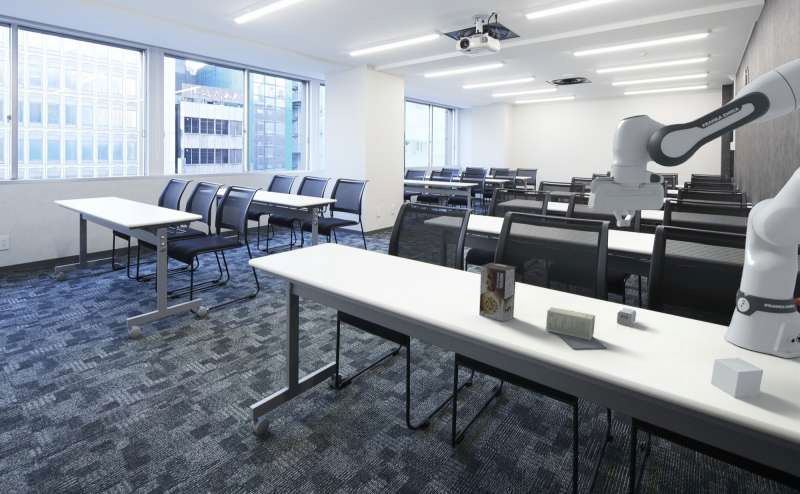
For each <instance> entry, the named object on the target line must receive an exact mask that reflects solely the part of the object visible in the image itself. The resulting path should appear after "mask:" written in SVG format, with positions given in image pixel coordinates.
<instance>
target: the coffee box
mask: <svg viewBox="0 0 800 494" xmlns="http://www.w3.org/2000/svg"><path fill="white" fill-rule="evenodd" d="M516 274H517V266H512V265H508V264H501V263H496V262H490V263H486V264H483V265H481V266H480V284H479V285H480V288H479V289H480V290H479V311H478V313H479V314H478V315H480V316H483V317H486V318H490V319H493V320H498V321H501V322H505V321H508V320H510V319H512V318H514V313H515V312H514V311H515V297H516V296H515V294H516V278H517V276H516Z"/></svg>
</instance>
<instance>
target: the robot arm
mask: <svg viewBox="0 0 800 494" xmlns="http://www.w3.org/2000/svg"><path fill="white" fill-rule="evenodd" d="M798 109H800V57H799V58H796V59H794V60H791V61H788V62H785V63H784V64H782V65H779V66H777V67H775V68H774V69H773V68H772V70H768V72H765V73H764V74H762V75H760V76H758V77H756V78H755V79H753V80H751V82H749V83H747V84H746V85H745V86H743V87H742V88H741V89H740V90H739V91H738V93H737V94H736V95H735V96H734V97H733V98H732V99H731V100H730V101H729V102H727V103H725V104H724V105H722V106H719V108H716V109H714V110H712V111H710V112H708V113H706V114H704V115H702V116H700V117H699V118H696V119H693V120H692V121H689V122H683V123H672V124H668V125H666V124H664V123H661V122H659V121H656V120H654V119H653V118H651V117H650V116H649V115H647V114H641V115H639V114H638V115H633V116H629V117H624V118H623V119H621V120H620V121H618V123H617V124H616V126H615V129H614V134H613V141H612V154H613V156H612V161H611V164H610V173H609V175H610V176H597V177H596V178H594V179H592V181H591V182H590V188H589V189H590V193H589V197H588V201H587V207H588V208H589V210H590V211H595V212H597V211H598V212H602V211H606V212H607V211H608V212H609V211H610V212H611V211H613V215H614V217H615V219H616V226H617V227H619V228H620V227H630V226H631V221H632V220H633V218H634V216H635V215H636V211H659V210H661V209H662V207H663V206H664V200H665V198H664V197H665V190H664V189H665V188H664V186H663V183H664V181H665V180H664V179H665V176H663V175H662V174H659V173H656V172H653V171H650V170H648V163H649V162H654V163H656V164H657V165H659V166H662V167H667V168H668V167H669V168H673V167H678V166H680V165H682V164H685V163H686V162H687V161H689V160H690V159H691V158H692V157H693V156H694V155H695V154H696V152H697V151H698V150H700V148H702V147H703V146H704V145H706V144H708V143H710V142H712V141H715V140H716V139H719V138H720V137H723V136H725V135H727V134H728V133H731V132H733V131H735V130H737V129H739V128H742V127H745V126H749V125H755V124H761V123H765V122H768V121H771V120H774V119H776V118H779V117H782V116H785V115H787V114H789V113H792V112H794V111H796V110H798ZM624 211H625V213H626V214H627V215H626V217H625V218H624V219H623V217H622V215H623V213H624ZM746 227H747V228H746V236H745V237H746V238H745V245H744V246H745V247H744V248H745V250H744V263H743V269H742V274H741V281H740V287H739V288H738V289H737V292H736V298H735V305H736V306H735V309H734V312H733V314H732V317H731V321H730V324H729V326H728V327H727V331H726V333H725V335H724V339H725V340H727V342H729V343H732V344H734V345H736V346H738V347H741V348H743V349H746V350H750V351H755V352H759V353H762V354H763V353H764V354H768V355H772V356H776V357H780V358H783V359H784V358H785V359H790V358H791V359H793V358H798V357H800V312H798V309H797V306H799V307H800V297H797V298H795V297H794V291H795V288H796V283H797V282H796V281H797V277H798V271H799V264H798V263H799V261H798V259H799V258H798V254H799V253H798V252H799V251H798V250H799V247H798V246H799V245H800V166H799V167H797V169H796V170H794V172H793V174H792V176H791V177H790V178H789V179H788V181H787V182H786V183H785V185H783V187H782V188H781V190H780V191H779V192H778V193H777V195H775V196H774V197H773V198H767V199H763V200H761V201H759V202H758V203H756V204H755V205H754V206H753V207H752V208H751V209H750V211H749V213H748V218H747V226H746Z"/></svg>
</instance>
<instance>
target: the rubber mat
mask: <svg viewBox="0 0 800 494" xmlns="http://www.w3.org/2000/svg"><path fill="white" fill-rule="evenodd" d="M555 334H556V335H558V337H560V338H561V340H563V342H565V343H566V344H567V345H568V346H569V347H570V348H571V349H572V350H576V351H577V350H578V351H579V350H606V349H608V347H607V346H606V345H604V344H603V343H602V342H601V341H600V340H598V339H597V338H595V337H594V336H593V337H592V338H591V339H590V340H587V339H583V338H578V337H573V336H569V335H564V334H559V333H555Z"/></svg>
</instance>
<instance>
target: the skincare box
mask: <svg viewBox="0 0 800 494" xmlns="http://www.w3.org/2000/svg"><path fill="white" fill-rule="evenodd" d="M546 313H547V315H546V323H545V324H546V325H545V332H551V333H555V334H556V333H559V334H564V335H569V336H573V337H578V338H583V339H587V340H590V339H591V338H592V337H594V334H595V326H596V325H595V324H596V315H595V314H590V313H585V312H580V311H574V310H569V309H564V308H560V307H559V308H558V307H553V306H552V307H550V308H548V310H547V312H546Z"/></svg>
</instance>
